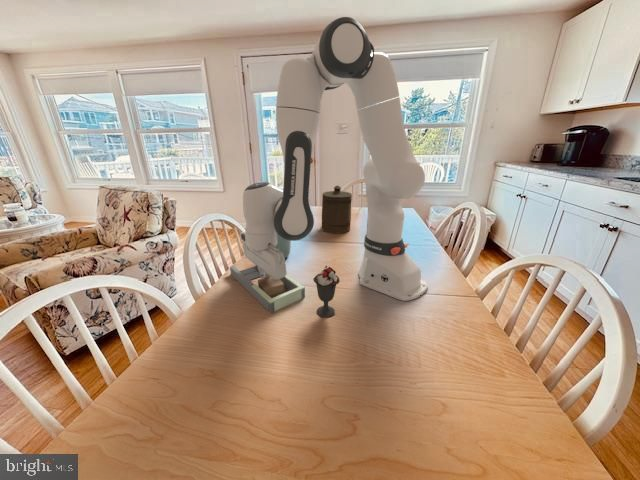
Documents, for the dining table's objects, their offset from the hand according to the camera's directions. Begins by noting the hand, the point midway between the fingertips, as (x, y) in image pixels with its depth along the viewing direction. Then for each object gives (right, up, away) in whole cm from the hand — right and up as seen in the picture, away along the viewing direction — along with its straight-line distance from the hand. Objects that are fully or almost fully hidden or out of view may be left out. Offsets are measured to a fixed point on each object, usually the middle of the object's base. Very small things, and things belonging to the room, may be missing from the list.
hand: (265, 279), depth 80 cm
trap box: (0, -2, +1) cm, 2 cm away
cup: (+2, +6, +20) cm, 21 cm away
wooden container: (+25, +18, +52) cm, 61 cm away
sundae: (+19, -7, -11) cm, 23 cm away
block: (+2, -4, -3) cm, 5 cm away
